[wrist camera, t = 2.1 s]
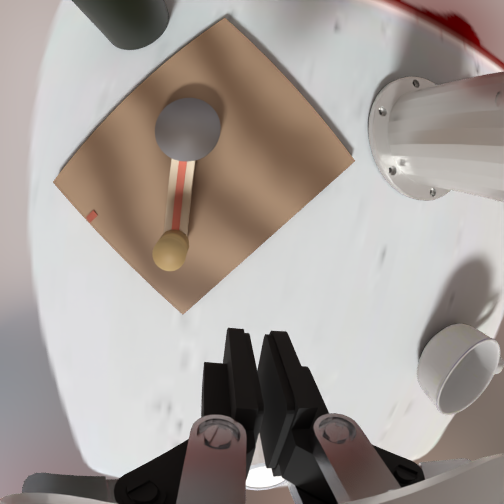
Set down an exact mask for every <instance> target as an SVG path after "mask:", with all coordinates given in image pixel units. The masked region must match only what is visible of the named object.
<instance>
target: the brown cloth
mask: <svg viewBox="0 0 504 504" xmlns="http://www.w3.org/2000/svg"><path fill="white" fill-rule="evenodd" d="M182 98H197V99H200V100H203V101H205V102H206V103H208V104H209V105H210V106H212V108H213V109H214V110H215V111H216V113H217V115H218V117H219V120H220V127H221V129H220V137H219V140H218V142H217V144H216V146H215V148H214V149H213V150H212V151H211V152H210V153H209V154H208V155H206V156H205V157H203V158H201V159H199V160H196V163H195V170H194V178H193V187H192V195H191V204H190V213H189V223H188V233H187V237H188V240H189V249H188V252H187V255H186V259H185V262H184V264H183V265H182V266H181V267H180V268H179V269H177V270H175V271H165V270H162V269H161V268H159V267H158V266H157V265H156V264H155V262H154V260H153V255H152V253H153V248H154V246H155V245H156V243H157V242H158V240H159V239H160V238H161V236H162V235H163V234H164V227H165V215H166V204H167V194H168V185H169V176H170V168H171V160H172V158H170V157H169V156H167V155H166V154H165V153H164V152H163V151H162V150H161V149H160V147H159V146H158V144H157V141H156V138H155V125H156V121H157V118H158V116H159V115H160V113H161V112H162V110H163V109H164V108H165V107H166V106H167V105H169V104H170V103H172V102H174V101H176V100H178V99H182ZM353 162H355V160H354V159H353V157H352V156H351V155H350V153H349V152H348V151H347V149H346V148H345V147H344V145H343V144H342V143H341V141H340V140H339V139H338V138H337V136H336V135H335V134H334V133H333V131H332V130H331V129H330V128H329V126H328V125H327V124H326V123H325V121H324V120H323V119H322V118H321V117H320V115H319V114H318V113H317V112H316V111H315V109H314V108H313V107H312V106H311V105H310V104H309V102H308V101H307V100H306V99H305V98H304V97H303V96H302V94H301V93H300V92H299V91H298V90H297V89H296V88H295V87H294V85H293V84H292V83H291V82H290V81H289V80H288V79H287V78H286V77H285V76H284V75H283V74H282V72H281V71H280V70H279V69H278V68H277V67H276V66H275V65H274V64H273V63H272V62H271V61H270V60H269V59H268V58H267V57H266V56H265V55H264V54H263V53H262V52H261V51H260V50H259V49H258V48H257V47H256V46H255V45H254V44H253V43H252V42H251V41H250V40H249V39H248V38H247V37H246V36H244V35H243V34H242V33H241V32H240V31H239V30H238V29H237V28H236V27H235V26H234V25H232V24H231V23H230V22H229V21H228V20H227V19H226V18H224V19H222V20H221V21H219V22H218V23H216V24H215V25H213V26H212V27H210V28H209V29H208V30H206V31H205V32H203V33H202V34H201V35H199V36H198V37H197V38H195V39H194V40H193V41H191V42H190V43H189V44H187V45H186V46H185V47H184V48H182V49H181V50H180V51H179V52H177V53H176V54H175V55H174V56H172V57H171V58H170V59H169V60H167V61H166V62H165V63H164V64H163V65H162V66H160V67H159V68H158V69H157V70H156V71H155V72H153V73H152V74H151V75H150V76H149V77H148V78H147V79H146V80H145V81H143V82H142V83H141V84H140V85H139V86H138V87H137V88H136V89H135V90H134V91H133V92H132V93H131V94H130V95H129V96H128V97H127V98H126V99H125V100H124V101H123V102H122V103H121V104H120V105H119V106H118V107H117V108H116V109H115V110H114V111H113V112H112V113H111V114H110V115H109V116H108V117H107V118H106V119H105V120H104V121H103V122H102V123H101V124H100V126H99V127H98V128H97V129H96V130H95V131H94V132H93V133H92V134H91V136H90V137H89V138H88V139H87V140H86V141H85V142H84V144H83V145H82V146H81V147H80V148H79V150H78V151H77V152H76V153H75V154H74V156H73V157H72V158H71V159H70V161H69V162H68V163H67V164H66V166H65V167H64V168H63V169H62V171H61V172H60V173H59V175H58V176H57V177H56V179H55V180H54V181H53V183H54V184H55V185H56V186H57V188H58V189H59V190H60V191H61V192H62V193H63V194H64V196H65V197H66V198H67V199H68V200H69V201H70V202H71V204H72V205H73V206H74V207H75V208H76V209H77V210H78V211H79V212H80V214H81V215H82V216H83V217H84V218H85V219H86V220H87V221H88V222H89V223H90V224H91V225H92V227H93V228H94V229H95V230H96V231H97V232H98V233H99V234H100V235H101V236H102V237H103V238H104V239H105V240H106V241H107V242H108V243H109V244H110V245H111V246H112V247H113V249H114V250H115V251H116V252H117V253H118V254H119V255H120V256H121V257H122V258H123V259H124V260H125V261H126V262H127V263H128V264H129V265H130V266H131V267H132V268H134V269H135V270H136V271H137V272H138V273H139V274H140V275H141V276H142V277H143V278H144V279H145V280H146V281H147V282H148V283H149V284H150V285H151V286H152V287H153V288H154V289H155V290H157V291H158V292H159V293H160V294H161V295H162V296H163V297H164V298H165V299H166V300H167V301H168V302H170V303H171V304H172V305H173V306H174V307H175V308H176V309H177V310H178V311H179V312H181V313H182V314H184V313H185V312H186V311H188V310H189V309H190V308H191V307H192V306H193V305H194V304H195V303H197V302H198V301H199V300H200V299H201V298H202V297H203V296H204V295H206V294H207V293H208V292H209V291H210V290H211V289H212V288H213V287H215V286H216V285H217V284H218V283H219V282H220V281H221V280H222V279H223V278H225V277H226V276H227V275H228V274H229V273H230V272H231V271H232V270H234V269H235V268H236V267H237V266H238V265H239V264H240V263H241V262H243V261H244V260H245V259H246V258H247V257H248V256H249V255H250V254H252V253H253V252H254V251H255V250H256V249H257V248H258V247H259V246H261V245H262V244H263V243H264V242H265V241H266V240H267V239H268V238H269V237H271V236H272V235H273V234H274V233H275V232H276V231H277V230H278V229H280V228H281V227H282V226H283V225H284V224H285V223H286V222H287V221H289V220H290V219H291V218H292V217H293V216H294V215H295V214H296V213H297V212H299V211H300V210H301V209H302V208H303V207H304V206H305V205H306V204H308V203H309V202H310V201H311V200H312V199H313V198H314V197H315V196H317V195H318V194H319V193H320V192H321V191H322V190H323V189H324V188H325V187H327V186H328V185H329V184H330V183H331V182H332V181H333V180H334V179H336V178H337V177H338V176H339V175H340V174H341V173H342V172H343V171H345V170H346V169H347V168H348V167H349V166H350V165H351V164H352V163H353Z"/></svg>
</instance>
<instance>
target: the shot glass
mask: <svg viewBox="0 0 504 504" xmlns="http://www.w3.org/2000/svg"><path fill="white" fill-rule="evenodd" d="M286 482H288V481H287V480H285V479H283V478H282V476H276V477H273V473H272V468H266V465H265V460H264V454H263V449H262V444H261V439H260V433H259V435H258V438H257V442H256V448H255V452H254V456H253V459H252V463H251V466H250V470H249V473H248V477H247V479H246V489H251V490H265V489H271V488H274V487H278V486H280V485H282V484H284V483H286Z"/></svg>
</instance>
